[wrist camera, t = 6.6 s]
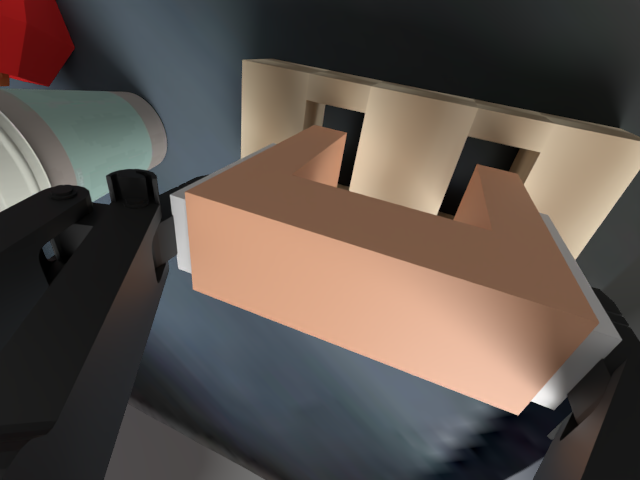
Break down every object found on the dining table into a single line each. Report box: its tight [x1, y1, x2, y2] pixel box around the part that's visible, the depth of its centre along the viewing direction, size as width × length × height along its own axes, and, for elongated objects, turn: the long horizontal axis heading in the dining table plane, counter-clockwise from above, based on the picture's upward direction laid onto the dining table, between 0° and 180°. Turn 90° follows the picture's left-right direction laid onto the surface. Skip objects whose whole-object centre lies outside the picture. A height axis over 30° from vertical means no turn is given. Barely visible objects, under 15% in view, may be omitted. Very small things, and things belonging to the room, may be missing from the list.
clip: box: [185, 125, 599, 415], centre depth 13 cm, size 10×4×10 cm, turn 81°
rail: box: [241, 59, 640, 259], centre depth 19 cm, size 19×8×4 cm, turn 81°
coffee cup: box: [0, 88, 167, 212], centre depth 21 cm, size 9×8×12 cm
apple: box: [0, 0, 75, 87], centre depth 22 cm, size 7×7×8 cm
